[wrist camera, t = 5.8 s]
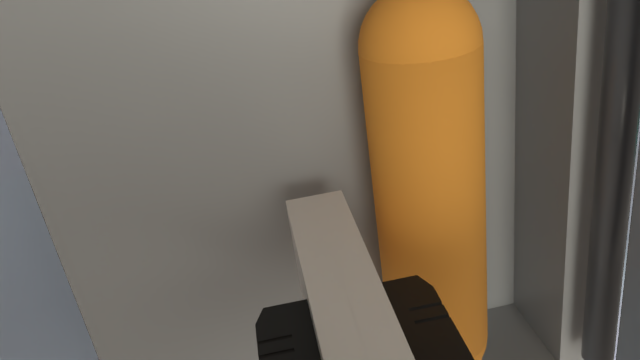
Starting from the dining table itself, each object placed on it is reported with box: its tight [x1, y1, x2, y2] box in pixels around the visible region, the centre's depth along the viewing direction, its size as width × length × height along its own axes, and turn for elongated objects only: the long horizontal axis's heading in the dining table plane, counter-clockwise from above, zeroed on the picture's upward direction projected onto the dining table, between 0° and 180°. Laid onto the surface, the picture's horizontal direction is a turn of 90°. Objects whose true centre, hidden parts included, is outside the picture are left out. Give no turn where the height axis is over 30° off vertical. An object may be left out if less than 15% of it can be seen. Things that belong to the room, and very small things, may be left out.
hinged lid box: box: [0, 0, 607, 360], centre depth 19 cm, size 17×18×4 cm
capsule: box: [358, 0, 488, 360], centre depth 17 cm, size 3×12×3 cm, turn 9°
